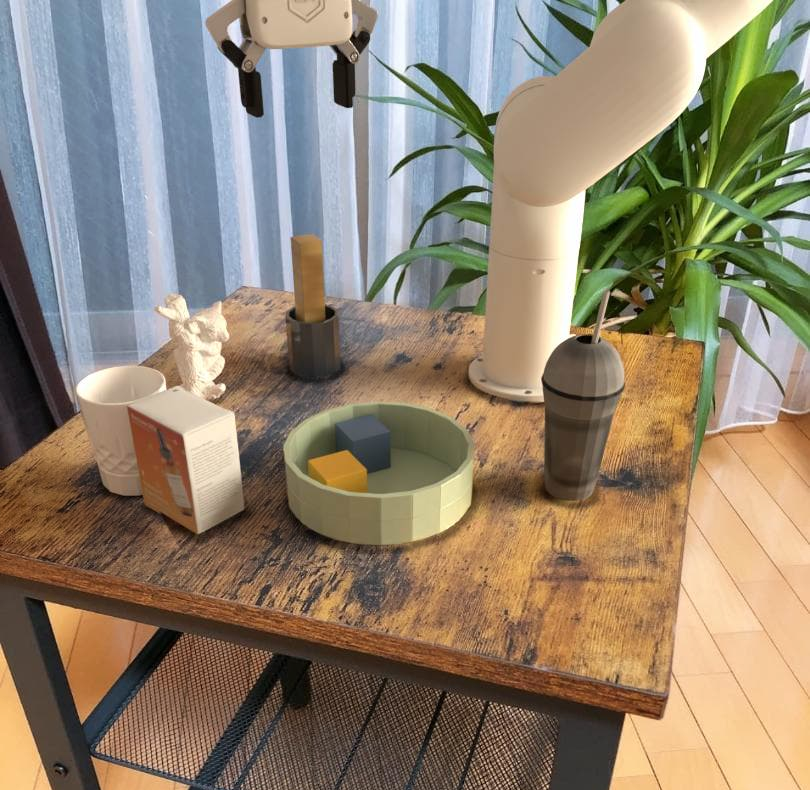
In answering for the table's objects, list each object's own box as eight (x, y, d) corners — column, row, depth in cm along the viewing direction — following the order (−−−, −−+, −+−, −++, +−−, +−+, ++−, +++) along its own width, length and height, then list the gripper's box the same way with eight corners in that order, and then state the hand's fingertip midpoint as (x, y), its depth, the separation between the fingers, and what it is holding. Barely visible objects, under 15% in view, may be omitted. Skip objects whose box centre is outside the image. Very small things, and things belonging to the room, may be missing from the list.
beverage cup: (562, 464, 90) (586, 265, 79) (623, 493, 86) (658, 287, 75) (514, 491, 86) (532, 286, 75) (575, 523, 82) (604, 310, 70)
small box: (144, 506, 84) (123, 404, 78) (192, 482, 88) (176, 382, 81) (198, 540, 80) (181, 435, 74) (247, 513, 83) (235, 410, 77)
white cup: (160, 504, 84) (142, 408, 79) (81, 495, 86) (58, 399, 80) (193, 461, 91) (178, 369, 85) (119, 453, 92) (100, 361, 86)
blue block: (372, 449, 92) (371, 413, 89) (390, 467, 89) (390, 431, 86) (336, 458, 90) (334, 423, 88) (353, 477, 87) (352, 441, 85)
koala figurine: (185, 418, 98) (169, 311, 91) (152, 397, 102) (134, 293, 95) (250, 393, 103) (239, 290, 96) (216, 374, 107) (203, 274, 100)
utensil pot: (327, 355, 111) (324, 299, 107) (349, 374, 107) (347, 317, 103) (281, 365, 109) (277, 309, 105) (302, 385, 105) (298, 327, 100)
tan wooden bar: (319, 359, 109) (311, 233, 100) (328, 367, 107) (321, 239, 98) (299, 363, 108) (290, 236, 99) (307, 372, 106) (299, 243, 97)
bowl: (414, 435, 95) (415, 387, 92) (507, 516, 83) (511, 464, 80) (260, 476, 88) (255, 426, 85) (336, 572, 76) (333, 517, 73)
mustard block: (348, 486, 86) (347, 449, 84) (368, 506, 83) (367, 469, 81) (309, 497, 84) (307, 460, 82) (328, 518, 82) (326, 480, 79)
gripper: (208, -97, 75) (231, 126, 85) (392, -98, 82) (393, 109, 92) (180, -98, 81) (205, 111, 91) (355, -99, 87) (360, 96, 97)
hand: (300, 110), depth 91 cm, fingers open, 9 cm apart
